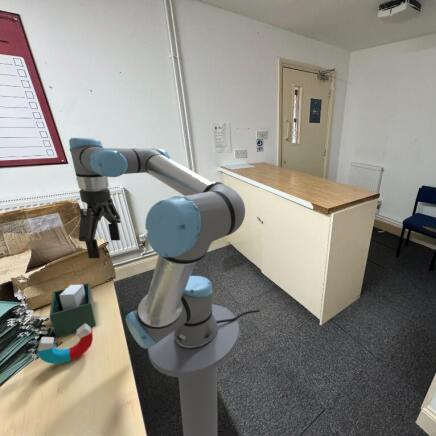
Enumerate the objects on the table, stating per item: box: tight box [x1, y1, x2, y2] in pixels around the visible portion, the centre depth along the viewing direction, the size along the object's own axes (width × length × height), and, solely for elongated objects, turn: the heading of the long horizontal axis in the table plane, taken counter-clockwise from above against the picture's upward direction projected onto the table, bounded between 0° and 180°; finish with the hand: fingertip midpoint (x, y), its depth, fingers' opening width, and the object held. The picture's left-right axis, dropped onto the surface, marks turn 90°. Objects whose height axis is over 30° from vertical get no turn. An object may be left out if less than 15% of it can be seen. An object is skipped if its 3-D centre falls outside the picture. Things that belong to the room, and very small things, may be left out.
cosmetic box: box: [59, 284, 87, 310], centre depth 84 cm, size 6×4×12 cm
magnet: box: [37, 323, 94, 365], centre depth 71 cm, size 12×3×10 cm, turn 129°
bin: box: [48, 282, 97, 339], centre depth 84 cm, size 14×10×10 cm
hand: (106, 248), depth 81 cm, fingers open, 13 cm apart
